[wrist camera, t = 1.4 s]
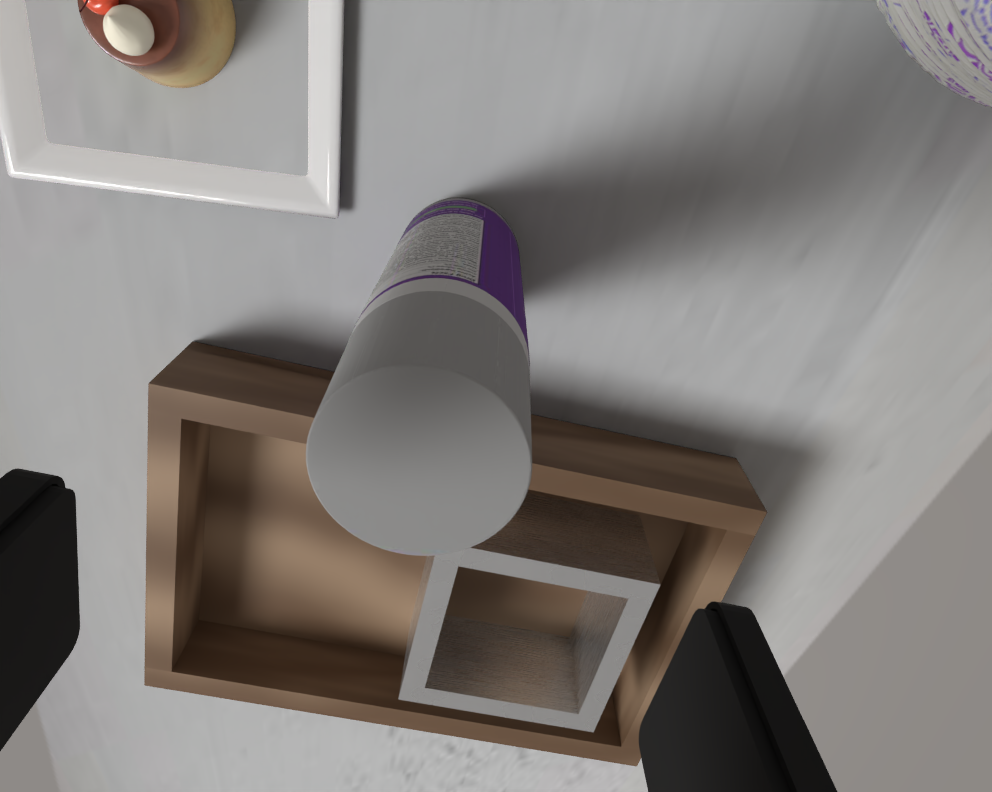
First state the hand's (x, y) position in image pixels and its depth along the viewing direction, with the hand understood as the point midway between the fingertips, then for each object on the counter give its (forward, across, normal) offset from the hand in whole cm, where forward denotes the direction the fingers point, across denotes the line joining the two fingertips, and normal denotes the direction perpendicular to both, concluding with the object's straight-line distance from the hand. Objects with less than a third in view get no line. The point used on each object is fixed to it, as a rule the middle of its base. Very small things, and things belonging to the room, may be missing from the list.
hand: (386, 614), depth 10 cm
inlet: (+19, -6, +13) cm, 24 cm away
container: (+19, 0, -1) cm, 19 cm away
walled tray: (+19, -2, +13) cm, 23 cm away
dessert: (+19, +11, -6) cm, 23 cm away
